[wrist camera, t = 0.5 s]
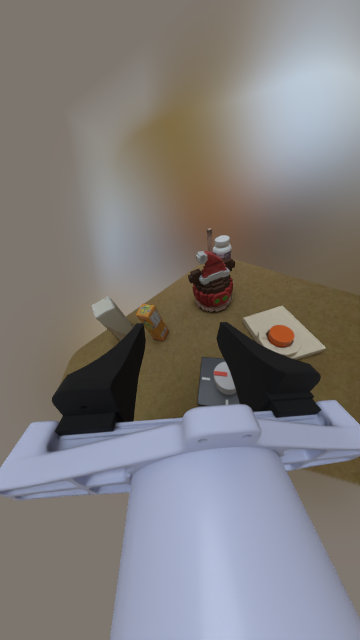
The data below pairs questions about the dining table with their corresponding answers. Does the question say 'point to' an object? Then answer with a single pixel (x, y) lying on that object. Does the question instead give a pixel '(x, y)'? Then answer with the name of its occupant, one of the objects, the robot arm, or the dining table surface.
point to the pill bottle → (222, 247)
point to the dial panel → (212, 386)
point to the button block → (263, 322)
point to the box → (112, 317)
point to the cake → (212, 279)
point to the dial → (224, 379)
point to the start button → (280, 335)
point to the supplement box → (152, 321)
